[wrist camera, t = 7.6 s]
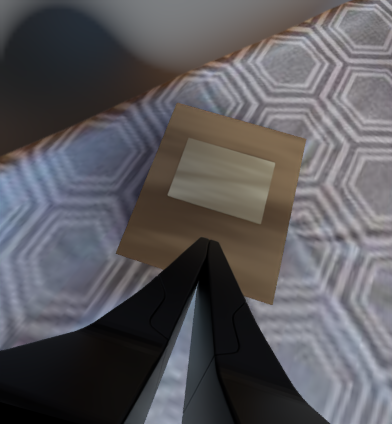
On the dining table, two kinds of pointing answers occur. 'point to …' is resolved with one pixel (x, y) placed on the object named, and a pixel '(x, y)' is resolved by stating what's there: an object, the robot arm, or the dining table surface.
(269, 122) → the dining table surface
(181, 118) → the cardboard box
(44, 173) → the dining table surface
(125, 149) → the dining table surface
